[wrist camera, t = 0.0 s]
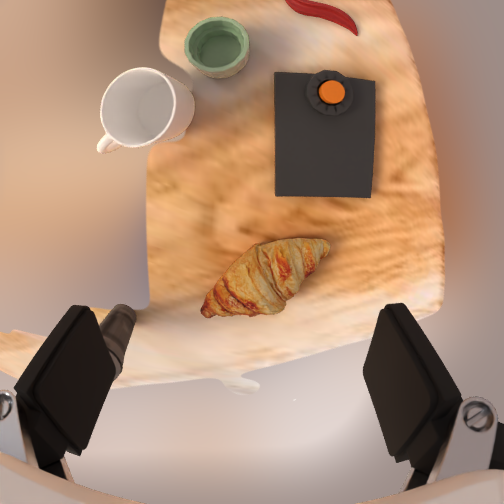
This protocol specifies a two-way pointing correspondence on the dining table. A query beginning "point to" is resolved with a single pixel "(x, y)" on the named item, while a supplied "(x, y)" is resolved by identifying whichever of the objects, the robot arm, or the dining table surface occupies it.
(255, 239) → the dining table surface
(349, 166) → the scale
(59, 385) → the robot arm
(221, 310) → the croissant
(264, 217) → the dining table surface
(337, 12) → the cayenne pepper
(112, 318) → the beverage cup
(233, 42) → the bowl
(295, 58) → the dining table surface
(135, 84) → the cup
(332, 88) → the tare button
